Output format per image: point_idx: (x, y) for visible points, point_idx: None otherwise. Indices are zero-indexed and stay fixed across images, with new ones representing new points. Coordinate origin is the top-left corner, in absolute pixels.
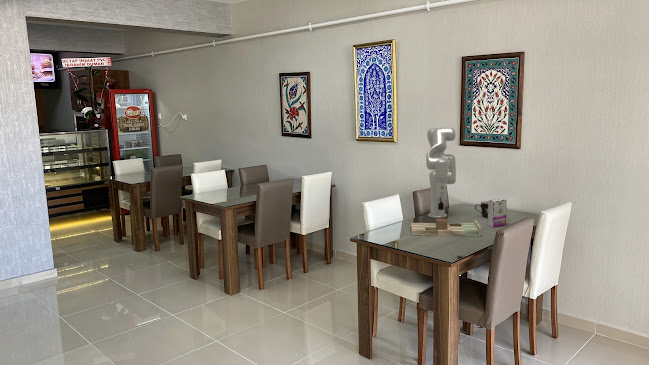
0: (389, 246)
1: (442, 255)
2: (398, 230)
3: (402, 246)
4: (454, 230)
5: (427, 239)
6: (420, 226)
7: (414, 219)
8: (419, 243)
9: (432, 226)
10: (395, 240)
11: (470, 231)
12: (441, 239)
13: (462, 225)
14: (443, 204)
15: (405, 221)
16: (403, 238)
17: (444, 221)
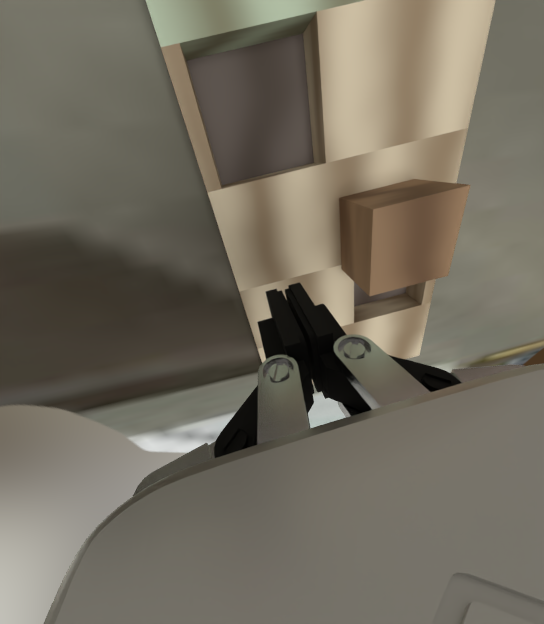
0: (524, 361)
1: None
2: (323, 397)
3: (541, 329)
4: (457, 106)
5: (476, 269)
6: None
7: (87, 408)
8: (527, 287)
9: (334, 290)
10: (461, 366)
11: None
12: (496, 198)
13: (261, 8)
14: (326, 325)
15: (156, 422)
16: (440, 353)
17: (460, 212)
